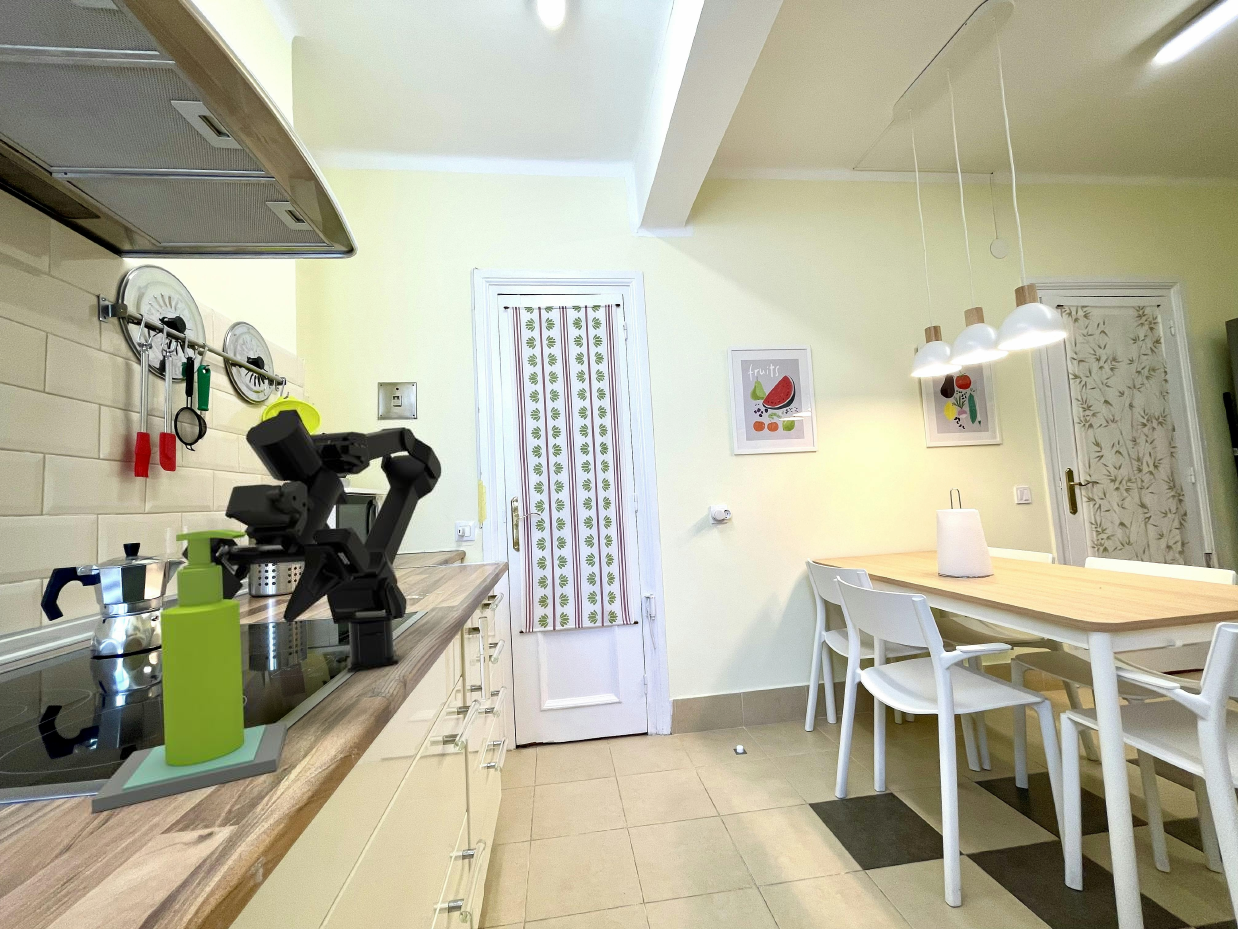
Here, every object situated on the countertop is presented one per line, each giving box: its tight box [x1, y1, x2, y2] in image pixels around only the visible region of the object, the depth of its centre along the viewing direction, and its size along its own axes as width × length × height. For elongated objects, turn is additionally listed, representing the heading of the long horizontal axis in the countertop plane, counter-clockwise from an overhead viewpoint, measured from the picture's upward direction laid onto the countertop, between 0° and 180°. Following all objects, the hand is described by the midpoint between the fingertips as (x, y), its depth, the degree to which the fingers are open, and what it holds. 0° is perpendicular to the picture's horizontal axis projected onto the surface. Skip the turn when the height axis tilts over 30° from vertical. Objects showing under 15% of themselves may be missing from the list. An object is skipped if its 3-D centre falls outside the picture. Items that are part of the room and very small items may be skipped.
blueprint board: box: [91, 720, 288, 814], centre depth 53 cm, size 10×12×1 cm
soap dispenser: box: [160, 529, 247, 766], centre depth 54 cm, size 6×7×20 cm
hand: (243, 622), depth 59 cm, fingers open, 9 cm apart
